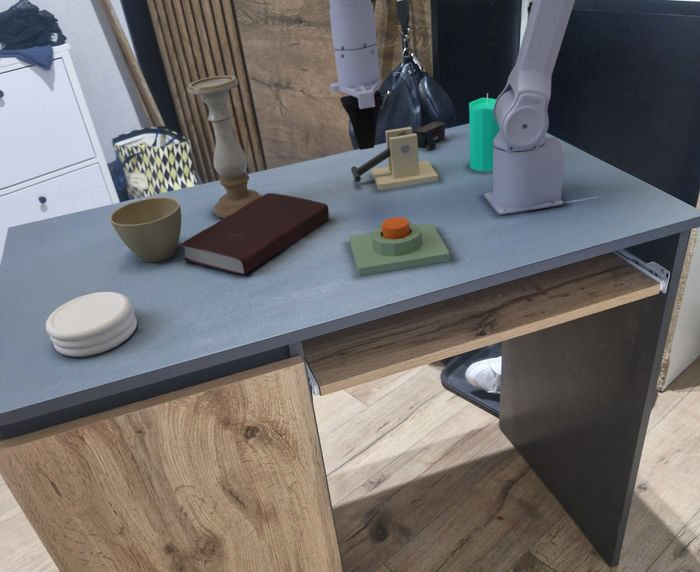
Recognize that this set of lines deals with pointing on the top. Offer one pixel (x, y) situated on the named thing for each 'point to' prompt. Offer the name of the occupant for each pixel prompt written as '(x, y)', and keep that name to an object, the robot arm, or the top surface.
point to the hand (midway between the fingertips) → (366, 147)
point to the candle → (482, 133)
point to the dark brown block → (430, 135)
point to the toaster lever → (371, 163)
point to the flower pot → (149, 227)
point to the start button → (395, 228)
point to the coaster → (91, 324)
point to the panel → (398, 250)
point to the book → (255, 233)
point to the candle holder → (225, 144)
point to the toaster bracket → (403, 162)
